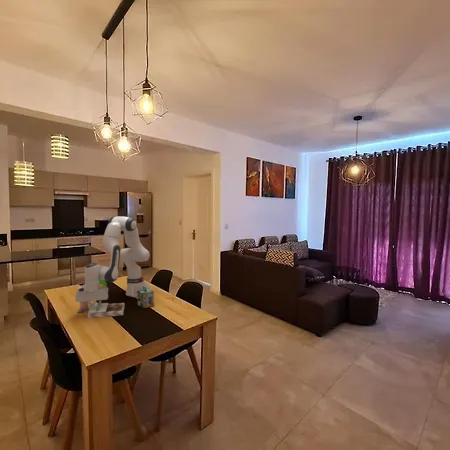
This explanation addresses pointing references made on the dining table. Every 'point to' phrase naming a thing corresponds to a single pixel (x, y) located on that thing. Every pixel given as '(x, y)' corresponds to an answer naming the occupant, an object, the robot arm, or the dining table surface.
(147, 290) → the chalk box
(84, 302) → the terracotta knob
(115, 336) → the dining table surface
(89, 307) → the slate tile
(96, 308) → the sliding lid panel
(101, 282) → the decorative tree
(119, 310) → the sliding lid box
